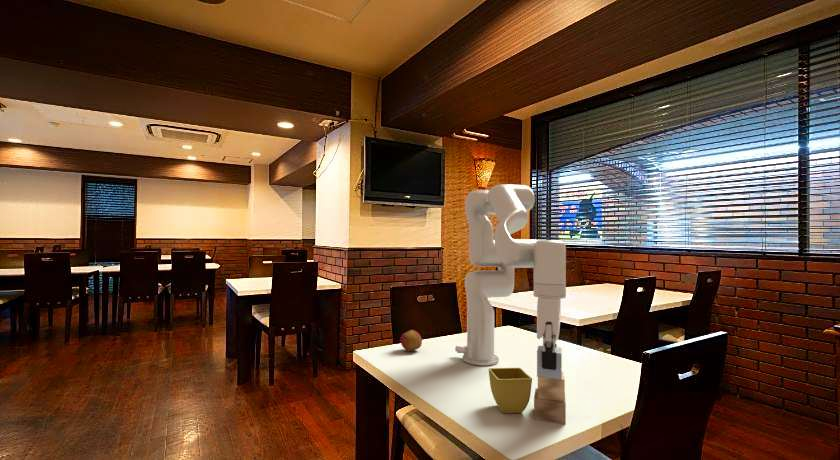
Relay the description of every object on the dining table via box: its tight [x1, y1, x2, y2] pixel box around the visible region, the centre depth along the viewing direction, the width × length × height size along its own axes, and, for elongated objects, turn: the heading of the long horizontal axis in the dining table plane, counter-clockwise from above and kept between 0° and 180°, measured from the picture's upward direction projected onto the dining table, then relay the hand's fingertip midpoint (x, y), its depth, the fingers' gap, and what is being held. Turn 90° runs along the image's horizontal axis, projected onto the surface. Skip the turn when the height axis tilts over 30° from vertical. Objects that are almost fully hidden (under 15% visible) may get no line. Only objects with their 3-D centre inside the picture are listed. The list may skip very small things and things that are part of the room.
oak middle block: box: [537, 371, 566, 402], centre depth 94 cm, size 6×6×5 cm
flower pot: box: [488, 367, 533, 414], centre depth 98 cm, size 9×9×9 cm
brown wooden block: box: [533, 387, 567, 425], centre depth 94 cm, size 7×7×5 cm
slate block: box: [536, 345, 563, 380], centre depth 94 cm, size 6×6×6 cm
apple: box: [399, 329, 423, 352], centre depth 148 cm, size 8×8×8 cm
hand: (549, 363), depth 94 cm, fingers open, 7 cm apart
